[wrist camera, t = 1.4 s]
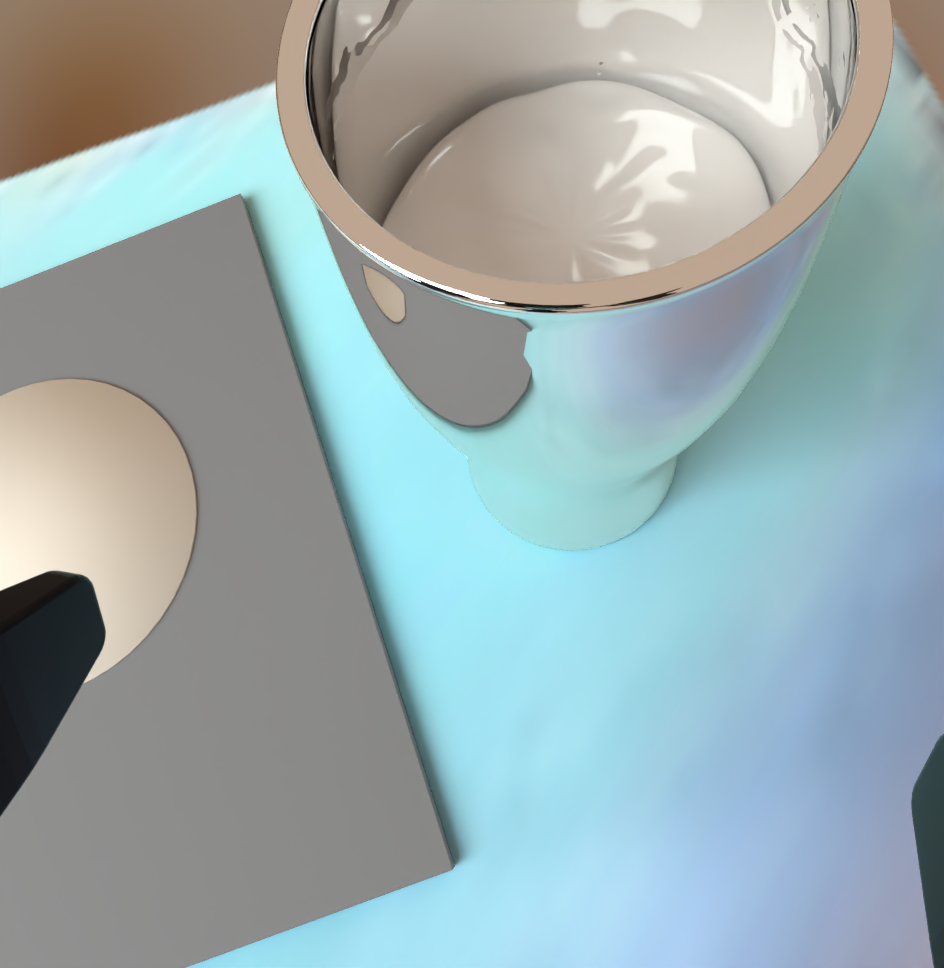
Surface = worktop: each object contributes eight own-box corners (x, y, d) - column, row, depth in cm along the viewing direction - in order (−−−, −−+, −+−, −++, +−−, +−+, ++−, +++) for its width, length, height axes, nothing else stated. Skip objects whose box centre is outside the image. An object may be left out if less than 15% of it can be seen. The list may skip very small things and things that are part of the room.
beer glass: (743, 446, 22) (1073, -16, 7) (573, 618, 21) (577, 477, 7) (567, 299, 24) (562, -296, 9) (406, 453, 23) (135, 69, 9)
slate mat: (454, 866, 20) (451, 870, 19) (-171, 1095, 20) (-189, 1105, 20) (244, 201, 26) (238, 192, 26) (-230, 389, 27) (-245, 383, 26)
